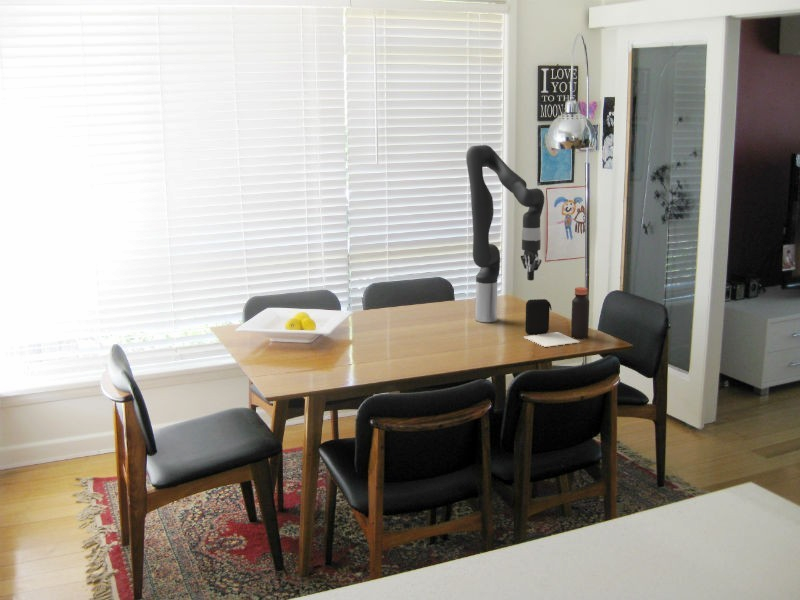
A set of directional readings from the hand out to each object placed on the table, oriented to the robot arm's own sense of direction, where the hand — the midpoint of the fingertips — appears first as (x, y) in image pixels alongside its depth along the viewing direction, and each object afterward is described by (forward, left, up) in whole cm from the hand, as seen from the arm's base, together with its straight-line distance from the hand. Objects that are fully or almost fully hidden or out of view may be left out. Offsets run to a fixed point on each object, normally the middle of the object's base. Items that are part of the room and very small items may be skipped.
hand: (530, 280), depth 346 cm
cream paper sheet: (+17, 0, -21) cm, 27 cm away
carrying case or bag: (+7, 0, -22) cm, 23 cm away
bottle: (+17, +13, -22) cm, 30 cm away
